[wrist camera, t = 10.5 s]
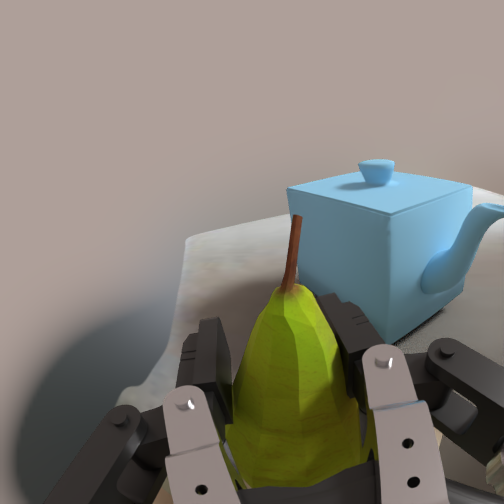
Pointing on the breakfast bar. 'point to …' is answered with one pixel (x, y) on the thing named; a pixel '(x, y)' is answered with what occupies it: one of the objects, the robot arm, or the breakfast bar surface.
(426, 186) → the teapot
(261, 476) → the fruit
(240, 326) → the breakfast bar surface
